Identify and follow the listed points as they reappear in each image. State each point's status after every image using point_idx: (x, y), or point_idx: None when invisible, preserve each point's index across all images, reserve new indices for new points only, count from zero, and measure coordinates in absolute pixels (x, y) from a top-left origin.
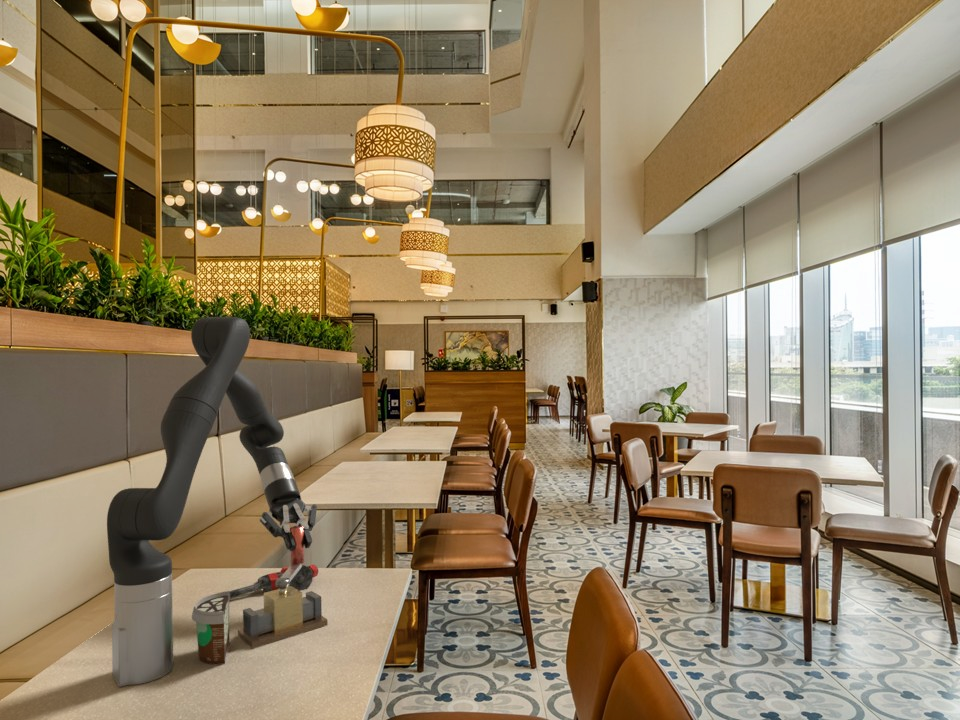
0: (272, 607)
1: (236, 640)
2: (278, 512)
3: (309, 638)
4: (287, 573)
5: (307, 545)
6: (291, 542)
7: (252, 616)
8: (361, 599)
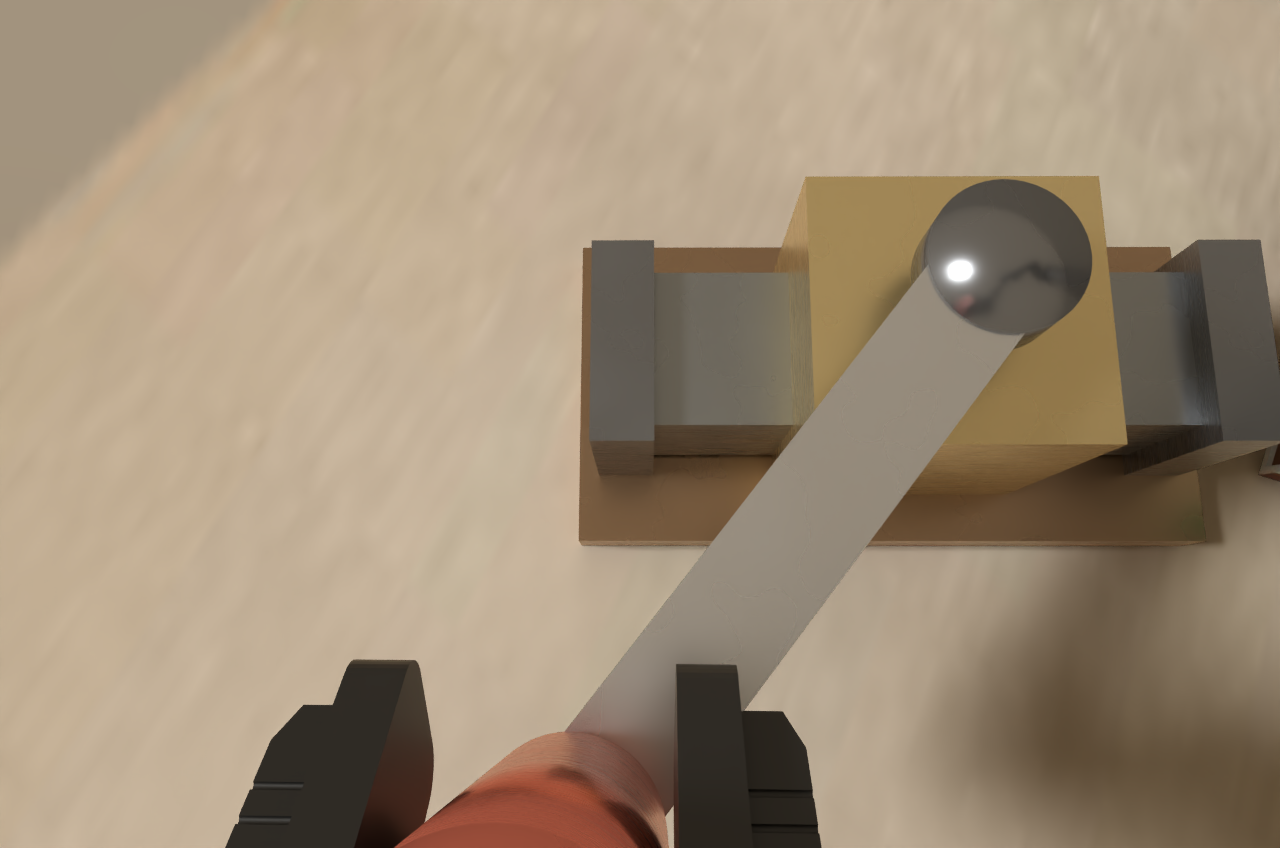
0: None
1: (1206, 476)
2: None
3: (782, 155)
4: (869, 458)
5: (422, 690)
6: (742, 730)
7: (1246, 240)
8: (108, 544)
